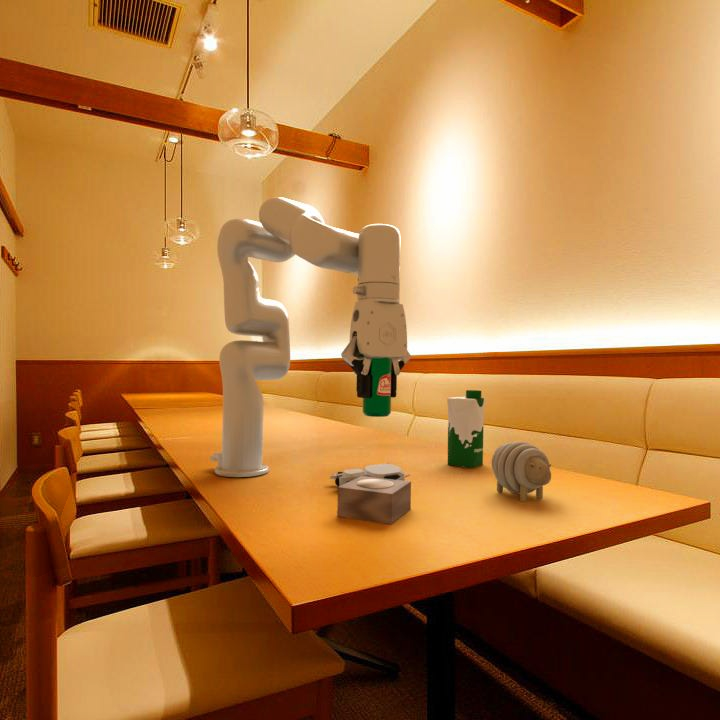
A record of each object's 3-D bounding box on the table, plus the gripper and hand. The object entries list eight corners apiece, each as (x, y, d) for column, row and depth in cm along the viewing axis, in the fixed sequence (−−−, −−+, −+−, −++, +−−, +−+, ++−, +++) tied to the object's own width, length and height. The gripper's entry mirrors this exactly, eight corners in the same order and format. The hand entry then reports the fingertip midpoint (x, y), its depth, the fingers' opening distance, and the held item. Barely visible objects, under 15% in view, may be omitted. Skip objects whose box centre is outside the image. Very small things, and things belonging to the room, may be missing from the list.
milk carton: (474, 469, 129) (475, 391, 129) (442, 464, 134) (443, 390, 134) (487, 464, 136) (488, 390, 136) (456, 460, 141) (457, 389, 141)
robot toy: (344, 503, 99) (413, 492, 104) (343, 480, 99) (412, 470, 104) (328, 488, 111) (391, 479, 115) (327, 467, 111) (390, 459, 115)
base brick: (337, 515, 87) (337, 485, 87) (360, 502, 96) (361, 474, 96) (391, 524, 83) (392, 492, 83) (410, 508, 92) (411, 480, 92)
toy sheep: (527, 508, 94) (528, 449, 94) (471, 488, 109) (472, 436, 109) (569, 503, 98) (570, 446, 98) (509, 484, 113) (510, 434, 114)
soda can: (382, 417, 86) (383, 347, 86) (357, 415, 89) (358, 347, 89) (395, 415, 90) (396, 349, 91) (371, 413, 93) (372, 349, 93)
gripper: (350, 288, 82) (348, 400, 82) (428, 298, 92) (426, 397, 92) (326, 293, 88) (324, 397, 88) (401, 302, 98) (400, 395, 98)
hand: (376, 396), depth 90 cm, fingers closed on soda can, 5 cm apart
